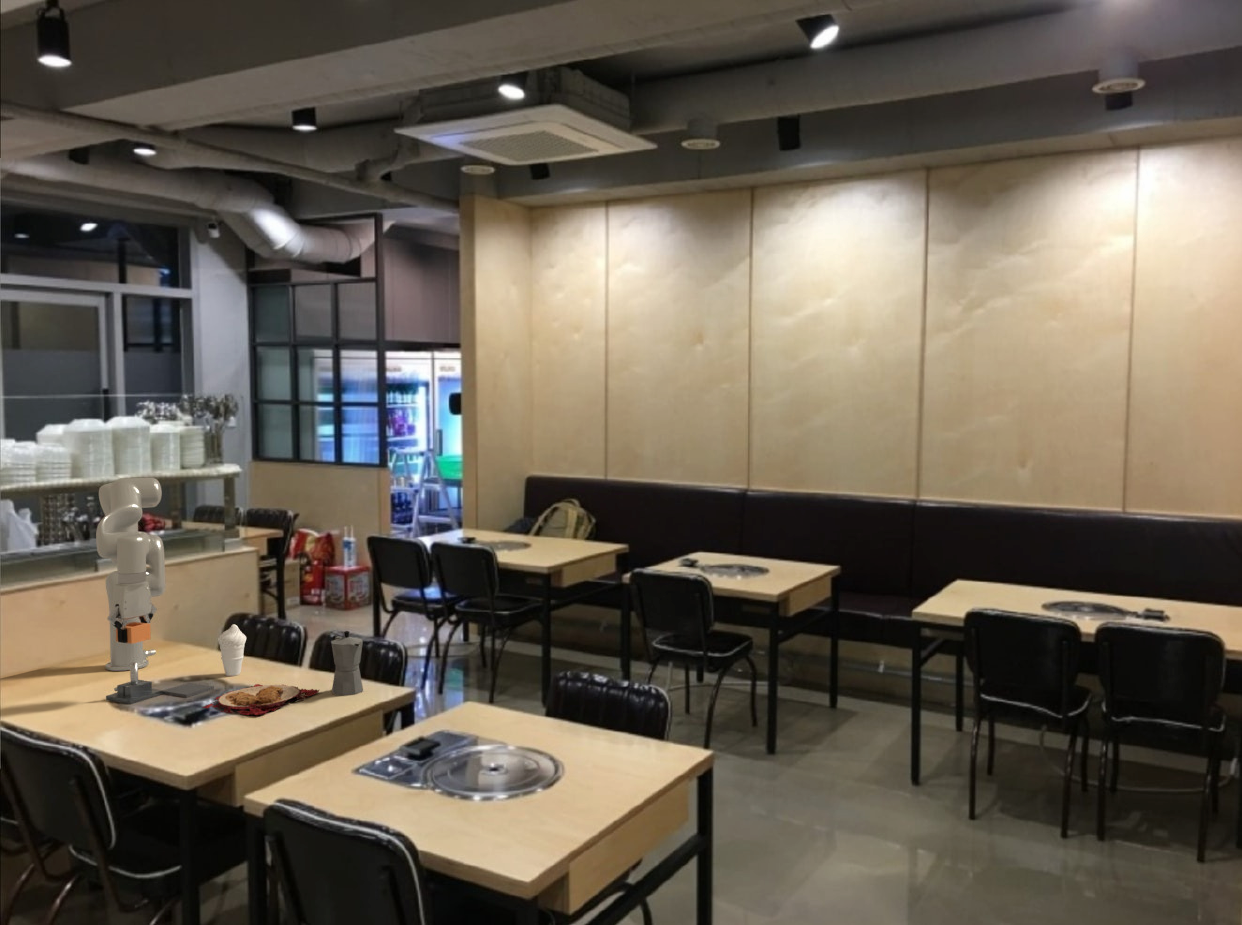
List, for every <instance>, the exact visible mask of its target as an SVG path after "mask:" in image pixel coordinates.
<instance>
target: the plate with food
mask: <svg viewBox="0 0 1242 925" xmlns="http://www.w3.org/2000/svg"><path fill="white" fill-rule="evenodd" d="M319 692H320V689H314V688H311V689H306V688H304V689H303V688H301V689H300V688H299V687H298V686H297V687H296V686H293V685H286V684H269V685H268V684H267V685H266V684H265V685H263V684H259V683H256V684H254V685H253V686H250V687H243V688H240V689H238V690H230V691H228V692H225V693H224V694H222V695H221V696H216V698H214V701H212V703H209V704H205V705H204V706H202V709H210V708H211V707H212V708H213V709H215V708H218V709H219V710H221V711H220V713H226V714H234V713H235V711H234V710H236V712H237V713H239V714H240V715H242V716H253V715H255V716H259V715H260V716H261V715H267V713H268V712H270V711H271V712H275V711H277V709H280V708H282V707H285V706H286V705H287V706H290V705H291V703H290V702H287V701H288V700H290V699H293V698H296V699H297V700H296V701H295V703H296V702H299V701H305V700H306V699H307V698H308V697H311V696H314V695H316V694H317V693H319ZM216 702H217V703H216ZM285 702H287V703H285ZM214 703H215V704H216V705H215V704H214ZM222 709H224V710H223V711H222ZM247 709H249V711H248V710H247ZM219 710H217V712H218V711H219Z"/></svg>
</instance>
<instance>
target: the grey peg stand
mask: <svg viewBox="0 0 1242 925" xmlns="http://www.w3.org/2000/svg"><path fill="white" fill-rule="evenodd" d="M129 671H130V673H129V674H130V681H127V682H125V683H121V684H118V685H116V687H114V689H113V691H115V693H111V694H108V695H105V701H110V702H116V703H120V704H121V703H122V704H123V703H124V704H127V705H132V704H136V703H139V702H141V701H142V702H143V701H145V700H149V699H152V698H155V697H159V696H161V695H164V694H163V690H162V689H157V688H153V686H152V681H149V680H143V679H139V668H138V662H132V663H130V670H129Z"/></svg>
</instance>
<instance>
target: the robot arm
mask: <svg viewBox="0 0 1242 925" xmlns="http://www.w3.org/2000/svg"><path fill="white" fill-rule="evenodd" d="M162 494H163V493H162V486H161V484H160V482H159V480H158V479H157V478H155V477H123V478H119V479H116V480H114V481H113V482H110V483H109V482H108V483H105V484H103V485H102V486H100V487H99V490H98V499H99V502H100V506H101V509H102V511H103V514H104V517H102V519H101V520H100V522H98V525H97V527H96V531H95V532H96V534H95V535H96V536H95V538H96V551H97V554H98V555H99V557H101V558H103V559H109V560H110V561H111V563H112V564H113V565H116V569H117V570H115V571H112V572H110V573H109V574H107V576H106V578H105V590H106V594H107V602H108V610H109V611H108V614H109V615H108V616H107V618H106V619H107V620H108V622H109V646H110V647H109V649H110V651H109V652H110V653H109V654H110V657H109V658H110V661H109V662H108V663H106V664H105V669H106V670H107V671H114V672H115V671H116V672H118V671H119V672H122V671H130V663H132V662H138V669H142V668H145V667H146V666H148V665H149V659H147V658H148V657H151V656H155V655H156V652H157V651H156V650H155V649H148V650H147V649H144V641H141V642H137V643H133V644H130V643H127V629H125V627H126V624H127V623H131V622H141V623H148V624H151V620H152V618H154V615H155V613H156V612H157V610H158V608H157V607H156V606H155V605H154V604H152V598H156V597H160V596H162V595H164V593H165V591H166V567H165V566H166V565H165V548H164V542H163V540H162V538H161V537H160V536H159V535H157V534H148V533H147V532H145V531H139V528H138V527H139V526H138V524H139V523H138V522H140V520H141V519H142V517H143V509H145V508H146V509H148V508H155V507H157V506H158V505H159V503H160V502H161V500H162ZM147 566H149V567H148V568H147ZM116 629H117V633H118V642H116Z"/></svg>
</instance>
